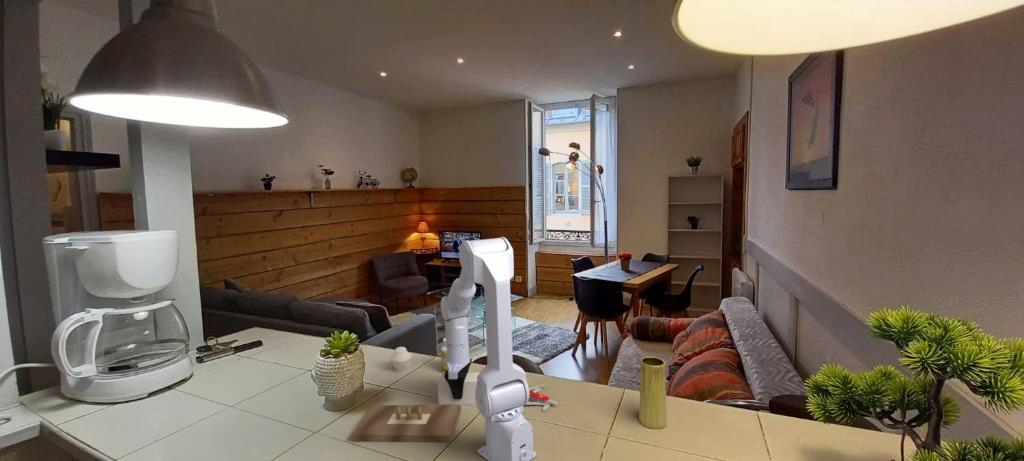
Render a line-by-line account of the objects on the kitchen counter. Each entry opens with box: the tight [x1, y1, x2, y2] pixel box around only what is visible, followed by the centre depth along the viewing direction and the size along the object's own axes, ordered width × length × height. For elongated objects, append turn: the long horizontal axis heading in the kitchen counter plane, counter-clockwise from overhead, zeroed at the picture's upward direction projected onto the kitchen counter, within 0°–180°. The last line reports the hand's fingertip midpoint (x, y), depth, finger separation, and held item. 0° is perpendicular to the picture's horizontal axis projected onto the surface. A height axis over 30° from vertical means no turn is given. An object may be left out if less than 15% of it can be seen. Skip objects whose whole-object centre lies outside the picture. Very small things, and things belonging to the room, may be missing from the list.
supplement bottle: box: [440, 337, 449, 373], centre depth 119 cm, size 5×5×10 cm
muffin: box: [390, 346, 412, 372], centre depth 121 cm, size 6×6×7 cm
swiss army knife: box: [525, 383, 558, 412], centre depth 100 cm, size 12×14×2 cm
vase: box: [638, 356, 668, 430], centre depth 89 cm, size 6×6×14 cm
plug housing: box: [437, 372, 480, 405], centre depth 102 cm, size 10×5×6 cm, turn 87°
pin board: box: [350, 404, 462, 443], centre depth 91 cm, size 22×12×4 cm, turn 87°
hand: (459, 392), depth 102 cm, fingers closed on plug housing, 5 cm apart
